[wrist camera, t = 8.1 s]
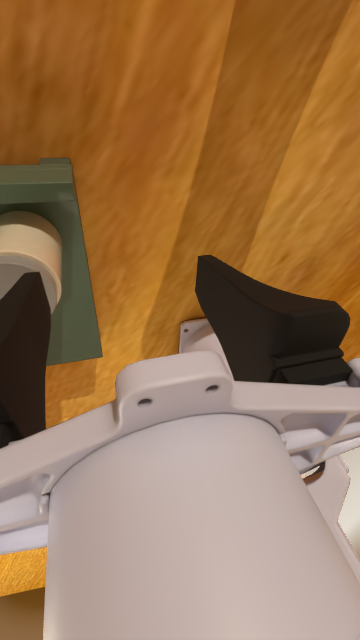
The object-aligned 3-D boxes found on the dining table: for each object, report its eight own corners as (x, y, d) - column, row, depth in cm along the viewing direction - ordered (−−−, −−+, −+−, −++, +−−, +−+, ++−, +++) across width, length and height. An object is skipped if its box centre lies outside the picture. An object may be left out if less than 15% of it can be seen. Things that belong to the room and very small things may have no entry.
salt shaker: (68, 270, 22) (68, 325, 17) (0, 276, 21) (-19, 336, 16) (55, 208, 19) (51, 255, 15) (-25, 211, 18) (-55, 263, 14)
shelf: (100, 338, 30) (105, 378, 26) (-39, 358, 27) (-55, 406, 23) (71, 157, 20) (72, 181, 16) (-159, 159, 17) (-221, 189, 13)
